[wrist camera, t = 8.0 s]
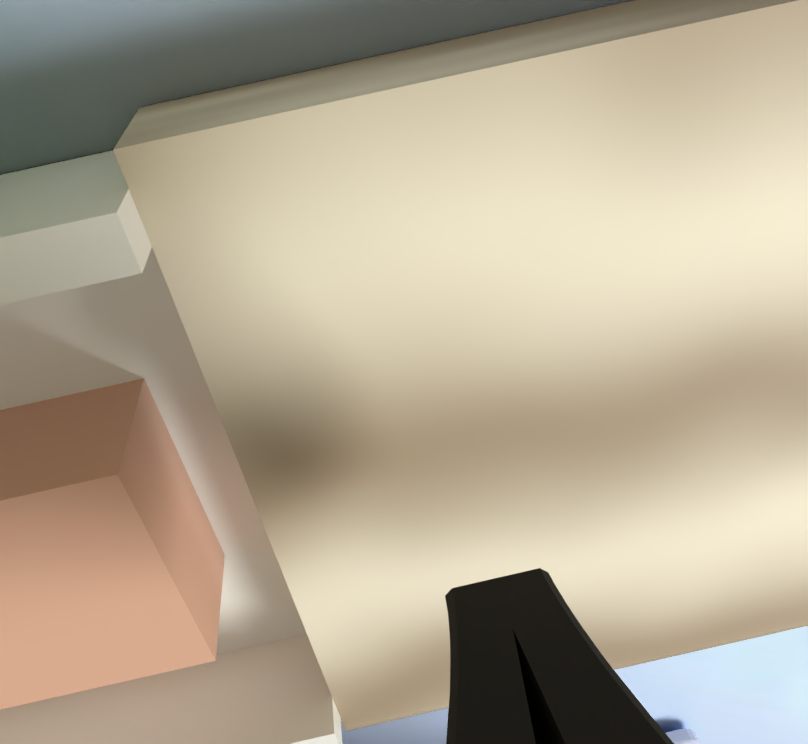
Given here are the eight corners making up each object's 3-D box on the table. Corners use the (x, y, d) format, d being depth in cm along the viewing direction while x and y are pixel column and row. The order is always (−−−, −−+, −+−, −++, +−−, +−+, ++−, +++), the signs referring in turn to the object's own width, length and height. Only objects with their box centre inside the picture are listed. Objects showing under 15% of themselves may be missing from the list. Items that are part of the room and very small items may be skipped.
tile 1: (225, 555, 15) (215, 660, 13) (8, 604, 15) (-35, 716, 13) (144, 378, 13) (116, 474, 11) (-115, 436, 13) (-192, 543, 11)
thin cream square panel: (824, 542, 18) (878, 609, 17) (339, 652, 18) (345, 731, 16) (950, -69, 11) (1070, -60, 9) (139, 107, 11) (112, 149, 9)
